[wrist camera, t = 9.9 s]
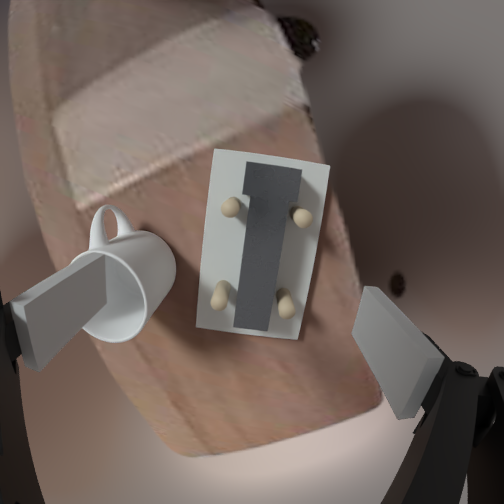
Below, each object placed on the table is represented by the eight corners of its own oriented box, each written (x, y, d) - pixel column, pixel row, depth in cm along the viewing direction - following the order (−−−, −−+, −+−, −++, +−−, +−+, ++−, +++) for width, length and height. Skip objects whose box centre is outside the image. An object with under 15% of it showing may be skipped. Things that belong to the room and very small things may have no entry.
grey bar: (247, 163, 30) (246, 161, 26) (296, 170, 30) (302, 169, 26) (228, 309, 34) (225, 326, 30) (272, 315, 34) (274, 332, 30)
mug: (162, 191, 32) (121, 198, 21) (186, 294, 34) (160, 339, 24) (97, 208, 32) (43, 222, 22) (122, 302, 35) (82, 345, 25)
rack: (215, 149, 31) (207, 143, 25) (327, 166, 31) (342, 164, 25) (197, 322, 35) (188, 347, 30) (296, 334, 36) (302, 360, 30)
